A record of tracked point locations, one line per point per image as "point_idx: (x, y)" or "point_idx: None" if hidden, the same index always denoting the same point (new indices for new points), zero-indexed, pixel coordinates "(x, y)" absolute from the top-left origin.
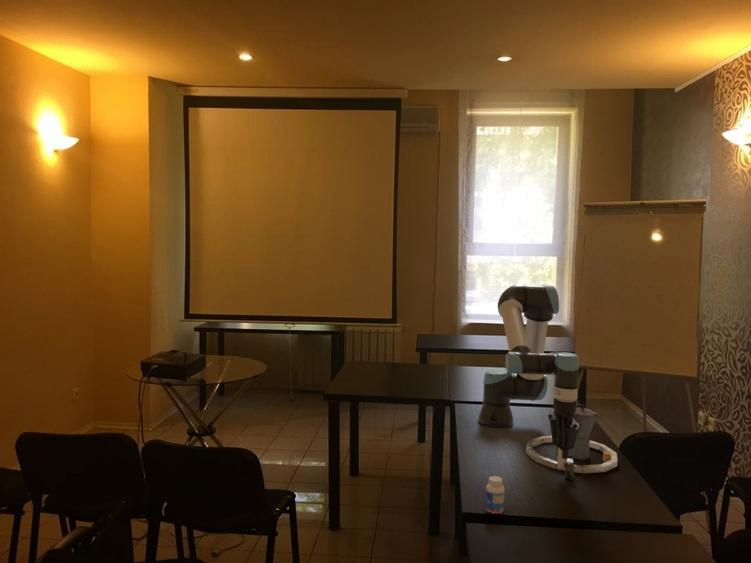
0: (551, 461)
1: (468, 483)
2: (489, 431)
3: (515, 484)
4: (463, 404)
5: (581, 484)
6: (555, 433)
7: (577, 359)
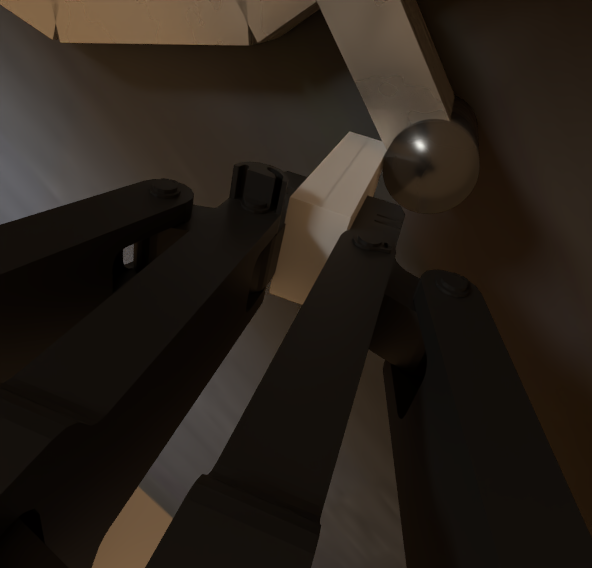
0: (188, 29)
1: (151, 490)
2: None
3: None
4: None
5: (575, 149)
6: (72, 326)
7: None
